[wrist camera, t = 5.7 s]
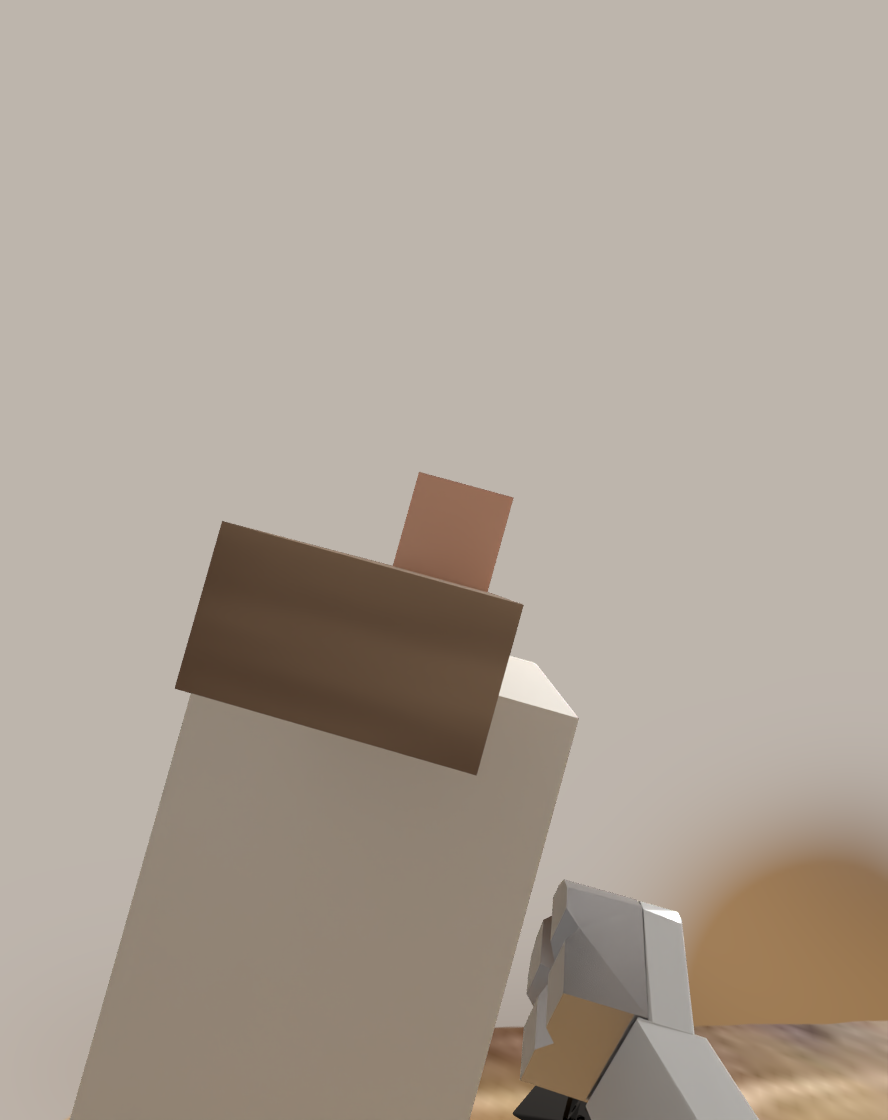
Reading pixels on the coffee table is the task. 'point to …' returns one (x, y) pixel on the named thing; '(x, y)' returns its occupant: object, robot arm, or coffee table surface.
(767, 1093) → the coffee table surface
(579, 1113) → the black angular part
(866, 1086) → the coffee table surface
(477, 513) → the terracotta cube
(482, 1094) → the coffee table surface
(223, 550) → the walnut strip
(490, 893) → the pedestal
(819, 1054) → the coffee table surface
